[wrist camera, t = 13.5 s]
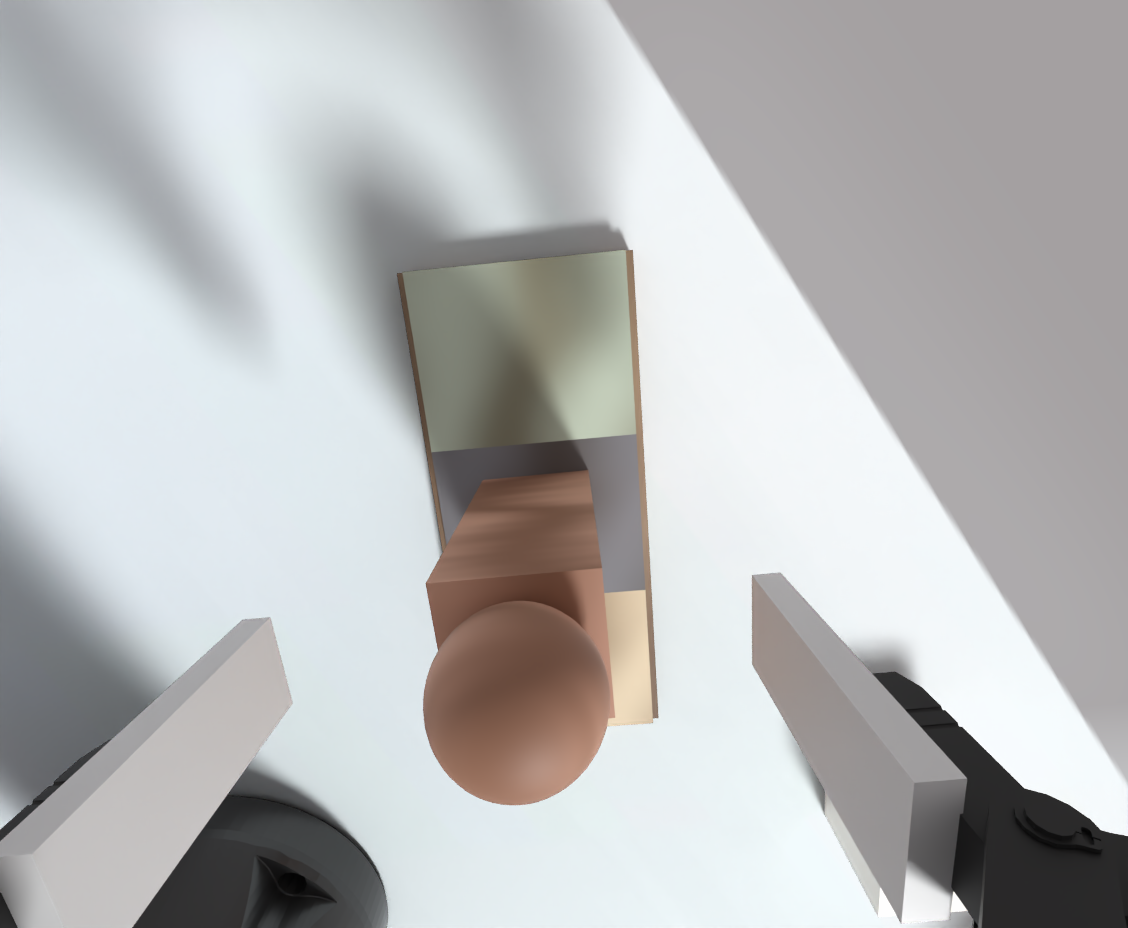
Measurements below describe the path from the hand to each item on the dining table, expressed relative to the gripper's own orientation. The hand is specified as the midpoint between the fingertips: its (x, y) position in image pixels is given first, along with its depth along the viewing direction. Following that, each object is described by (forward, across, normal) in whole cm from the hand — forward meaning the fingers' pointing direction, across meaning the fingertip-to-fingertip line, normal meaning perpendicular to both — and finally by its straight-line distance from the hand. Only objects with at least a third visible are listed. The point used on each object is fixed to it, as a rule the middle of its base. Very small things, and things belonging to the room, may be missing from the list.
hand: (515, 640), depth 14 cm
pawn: (+8, 0, 0) cm, 8 cm away
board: (+9, 0, 0) cm, 9 cm away
